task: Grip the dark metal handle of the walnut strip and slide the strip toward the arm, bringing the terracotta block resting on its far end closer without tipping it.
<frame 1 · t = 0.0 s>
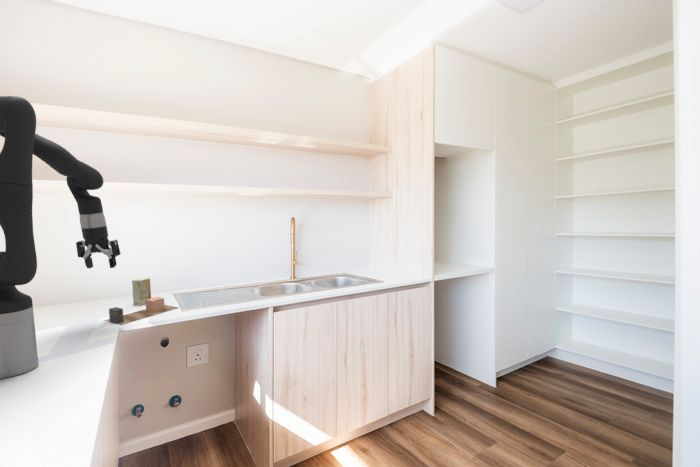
hand: (101, 267, 131), 22 cm above the countertop, tool pointing down, fingers open, 8 cm apart
walnut strip: (143, 308, 143), point 3 cm above the countertop, slide at 0.0 cm, touching terracotta block
skincare box: (143, 305, 159), on the countertop
terracotta block: (155, 310, 148), point 1 cm above the countertop, touching walnut strip
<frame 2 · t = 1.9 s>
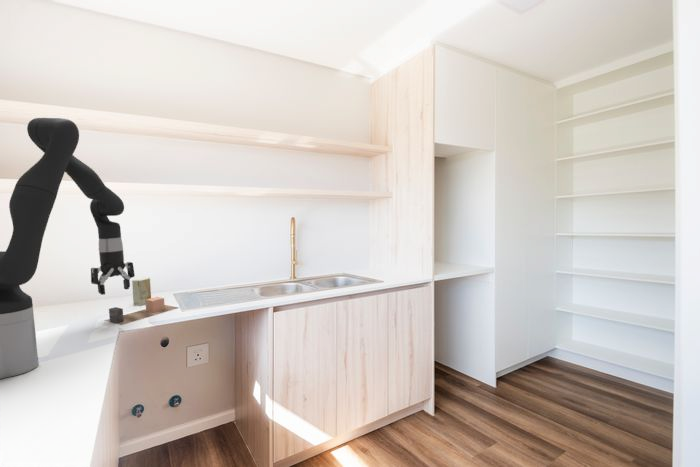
hand: (115, 291, 134), 13 cm above the countertop, tool pointing down, fingers open, 8 cm apart
nothing on the countertop moved.
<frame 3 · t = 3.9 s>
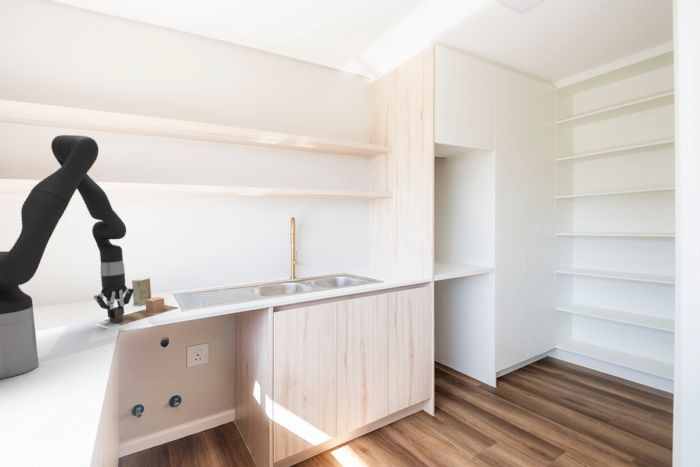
hand: (116, 317, 134), 3 cm above the countertop, tool pointing down, fingers closed on walnut strip, 2 cm apart
walnut strip: (143, 308, 143), point 3 cm above the countertop, slide at 0.0 cm, touching gripper, terracotta block
everything else where it was.
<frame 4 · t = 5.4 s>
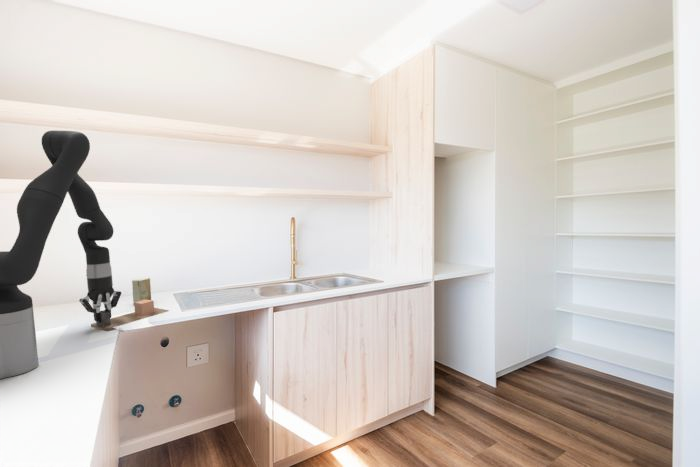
hand: (103, 320, 130), 3 cm above the countertop, tool pointing down, fingers closed on walnut strip, 2 cm apart
walnut strip: (131, 311, 139), point 3 cm above the countertop, slide at 4.6 cm, touching gripper, terracotta block
terracotta block: (144, 313, 144), point 1 cm above the countertop, touching walnut strip
everything else where it was.
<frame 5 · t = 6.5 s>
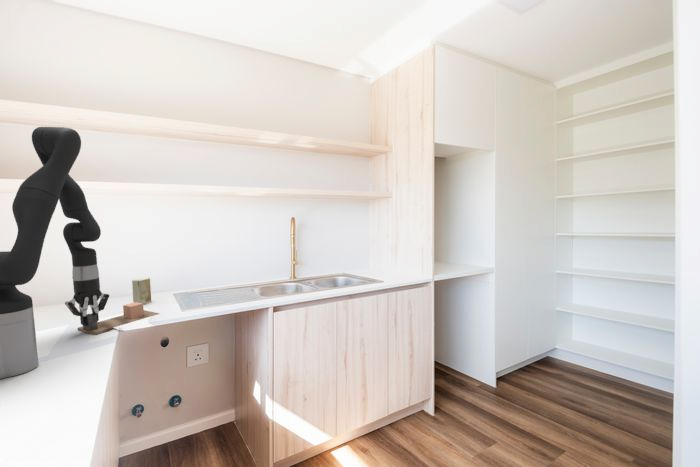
hand: (90, 324, 126), 3 cm above the countertop, tool pointing down, fingers closed on walnut strip, 2 cm apart
walnut strip: (120, 315, 136), point 3 cm above the countertop, slide at 9.0 cm, touching gripper, terracotta block
terracotta block: (134, 316, 140), point 1 cm above the countertop, touching walnut strip
everything else where it was.
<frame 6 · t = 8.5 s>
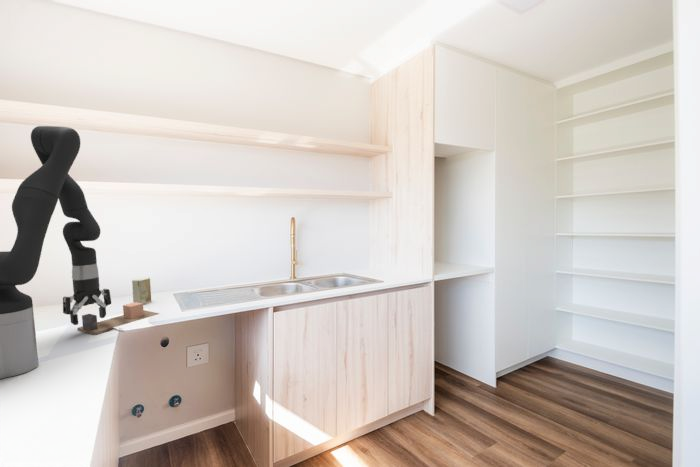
hand: (89, 320, 126), 4 cm above the countertop, tool pointing down, fingers open, 8 cm apart
walnut strip: (120, 315, 136), point 3 cm above the countertop, slide at 9.0 cm, touching terracotta block
everything else where it was.
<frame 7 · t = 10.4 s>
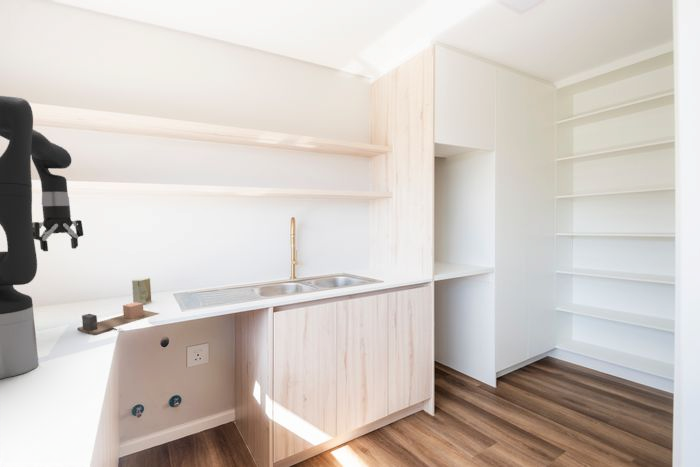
hand: (60, 249, 126), 30 cm above the countertop, tool pointing down, fingers open, 8 cm apart
nothing on the countertop moved.
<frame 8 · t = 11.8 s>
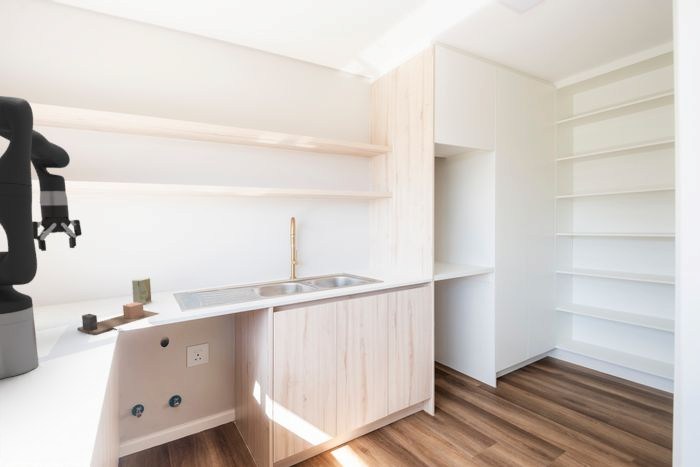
hand: (58, 249, 126), 30 cm above the countertop, tool pointing down, fingers open, 8 cm apart
nothing on the countertop moved.
at the end: walnut strip slide at 9.0 cm; terracotta block moved 9.0 cm from its start; terracotta block tilted 0° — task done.
